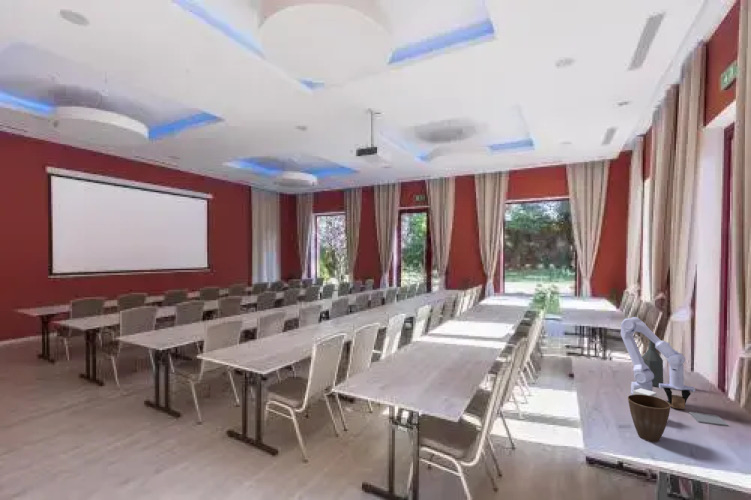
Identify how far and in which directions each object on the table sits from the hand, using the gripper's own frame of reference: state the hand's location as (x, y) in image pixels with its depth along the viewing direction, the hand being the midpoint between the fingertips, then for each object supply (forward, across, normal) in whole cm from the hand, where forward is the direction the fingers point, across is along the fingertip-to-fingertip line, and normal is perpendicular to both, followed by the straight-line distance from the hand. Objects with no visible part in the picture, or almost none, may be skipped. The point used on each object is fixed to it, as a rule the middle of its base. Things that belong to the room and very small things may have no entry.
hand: (676, 403), depth 190 cm
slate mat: (+2, +9, -10) cm, 14 cm away
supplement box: (+3, -18, -18) cm, 26 cm away
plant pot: (+3, -22, -41) cm, 47 cm away
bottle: (+3, -1, +37) cm, 37 cm away
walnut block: (+1, 0, 0) cm, 1 cm away
